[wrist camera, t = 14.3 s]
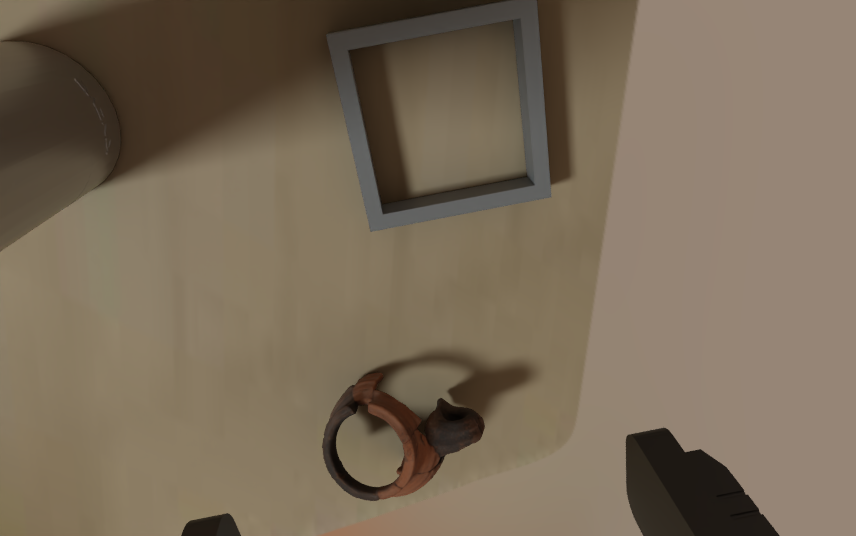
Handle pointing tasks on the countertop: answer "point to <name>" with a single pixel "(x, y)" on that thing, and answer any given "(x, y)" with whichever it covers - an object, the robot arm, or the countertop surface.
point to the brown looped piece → (401, 438)
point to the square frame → (529, 67)
